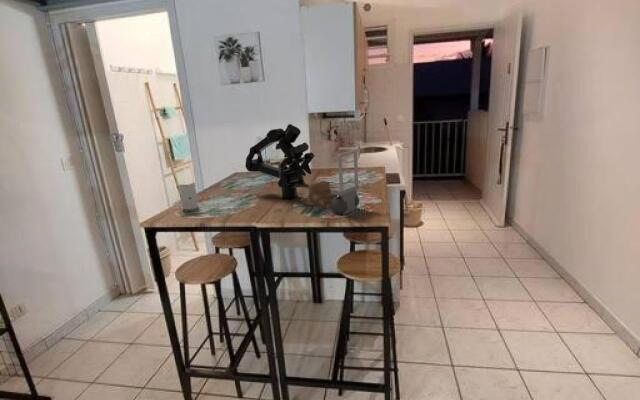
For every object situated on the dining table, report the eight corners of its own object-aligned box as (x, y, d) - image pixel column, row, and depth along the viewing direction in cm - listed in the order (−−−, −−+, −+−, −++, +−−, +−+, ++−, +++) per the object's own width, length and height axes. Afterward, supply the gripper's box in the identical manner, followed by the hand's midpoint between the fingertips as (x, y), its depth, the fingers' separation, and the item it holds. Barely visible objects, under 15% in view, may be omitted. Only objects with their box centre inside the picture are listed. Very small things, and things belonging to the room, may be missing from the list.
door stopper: (295, 187, 190) (293, 165, 187) (286, 186, 193) (284, 165, 190) (305, 183, 197) (303, 162, 194) (296, 182, 200) (294, 162, 197)
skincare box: (182, 209, 162) (177, 184, 159) (188, 206, 166) (184, 182, 163) (193, 209, 160) (188, 184, 157) (199, 206, 164) (195, 182, 161)
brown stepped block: (301, 203, 158) (300, 184, 155) (315, 198, 165) (314, 180, 162) (329, 208, 148) (327, 188, 145) (342, 202, 155) (341, 183, 152)
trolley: (330, 213, 141) (326, 153, 134) (346, 206, 149) (343, 149, 143) (344, 216, 137) (340, 154, 130) (360, 208, 145) (358, 149, 138)
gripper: (281, 140, 149) (302, 166, 145) (310, 135, 163) (329, 159, 159) (271, 157, 156) (290, 183, 153) (299, 151, 170) (317, 174, 166)
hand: (308, 174), depth 157 cm, fingers open, 3 cm apart
